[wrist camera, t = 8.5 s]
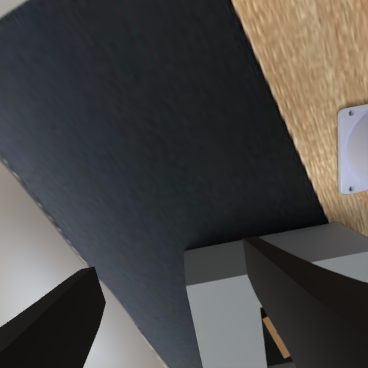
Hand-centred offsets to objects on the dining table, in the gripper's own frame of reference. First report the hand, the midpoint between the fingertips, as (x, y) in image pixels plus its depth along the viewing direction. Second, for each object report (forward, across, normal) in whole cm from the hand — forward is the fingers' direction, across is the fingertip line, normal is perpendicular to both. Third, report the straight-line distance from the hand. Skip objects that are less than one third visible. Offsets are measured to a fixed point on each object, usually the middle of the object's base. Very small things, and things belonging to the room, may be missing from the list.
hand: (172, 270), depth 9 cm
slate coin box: (+10, -8, +12) cm, 17 cm away
